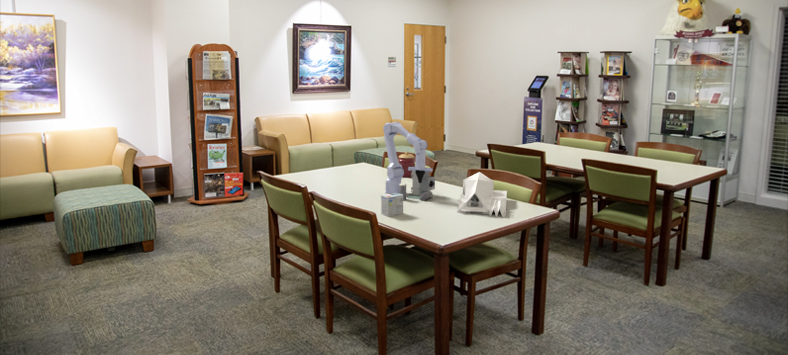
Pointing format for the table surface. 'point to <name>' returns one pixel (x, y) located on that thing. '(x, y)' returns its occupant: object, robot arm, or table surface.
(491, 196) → the white faceted model
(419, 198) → the pad
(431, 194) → the post right
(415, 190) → the circuit breaker
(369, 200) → the table surface
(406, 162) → the canister
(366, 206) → the table surface
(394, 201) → the light bulb box
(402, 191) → the post left
